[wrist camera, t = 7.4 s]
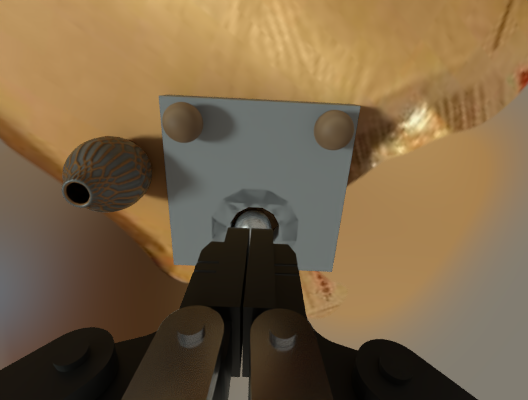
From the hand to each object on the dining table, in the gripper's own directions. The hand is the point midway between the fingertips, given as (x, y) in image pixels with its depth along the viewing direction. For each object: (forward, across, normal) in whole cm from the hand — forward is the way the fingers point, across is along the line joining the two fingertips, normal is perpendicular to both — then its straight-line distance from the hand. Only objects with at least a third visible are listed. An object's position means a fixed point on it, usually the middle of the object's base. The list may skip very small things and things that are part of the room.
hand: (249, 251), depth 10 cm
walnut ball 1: (+16, +7, -2) cm, 18 cm away
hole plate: (+21, 0, +6) cm, 21 cm away
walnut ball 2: (+16, -6, -2) cm, 18 cm away
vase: (+21, +14, +4) cm, 25 cm away
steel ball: (+18, 0, +10) cm, 21 cm away
